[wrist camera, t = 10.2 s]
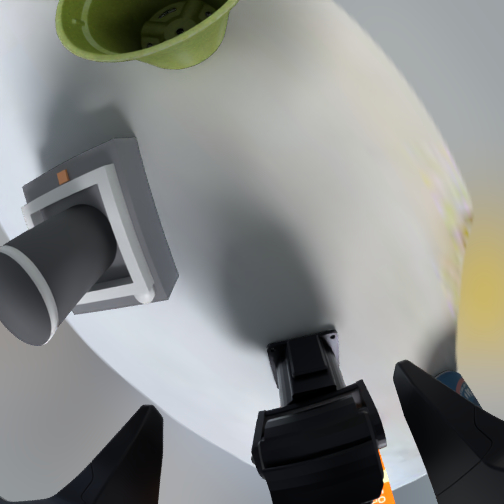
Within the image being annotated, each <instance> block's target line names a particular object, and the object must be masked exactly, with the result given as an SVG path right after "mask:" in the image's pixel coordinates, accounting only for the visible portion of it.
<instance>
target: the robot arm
mask: <svg viewBox="0 0 504 504" xmlns="http://www.w3.org/2000/svg"><path fill="white" fill-rule="evenodd" d="M331 335H333V336H331ZM271 348H274V349H271ZM267 352H268V356H269V360H270V363H271V367H272V371H273V374H274V378H275V381H276V385H277V388H278V389H279V395H280V403H281V407H280V408H276V409H272V410H268V411H266V410H264V411H259V413H258V419H257V422H256V428H255V434H254V439H253V445H252V451H251V452H252V457H251V460H252V463H254V464H255V465H256V468H257V471H258V473H259V474H260V476H261V477H262V478H263V479H265V480H266V482H267V484H268V487H269V490H270V494H271V498H272V502H273V504H372V503H373V501H374V500H376V499H379V498H380V495H381V492H382V490H383V487H384V482H383V479H384V471H383V467H382V463H381V459H380V455H379V451H378V449H381V448H383V447H386V446H387V443H386V437H385V433H384V429H383V426H382V422H381V419H380V417H379V414H378V411H377V409H376V407H375V405H374V403H373V400H372V398H371V396H370V394H369V392H368V390H367V388H366V386H365V384H364V382H363V380H359V381H357V382H356V383H354V384H352V385H349V386H345V383H344V380H343V377H342V374H341V371H340V368H339V345H338V334H337V332H336V331H335V330H330V331H326V332H322V333H318V334H314V335H309V336H305V337H300V338H296V339H291V340H286V341H281V342H276V343H271V344H269V345H268V346H267ZM393 381H394V384H395V387H396V391H397V394H398V397H399V400H400V404H401V407H402V410H403V413H404V416H405V419H406V421H407V424H408V426H409V428H410V431H411V433H412V435H413V438H414V440H415V443H416V445H417V447H418V450H419V452H420V455H421V457H422V460H423V463H424V465H425V468H426V470H427V473H428V476H429V479H430V481H431V484H432V487H433V489H434V493H435V495H436V499H437V502H438V504H504V421H503V420H501V419H499V418H497V417H495V416H493V415H491V414H490V413H488V412H486V411H485V410H483V409H481V408H480V407H478V406H477V405H474V403H472V402H471V401H469V400H467V399H466V398H464V397H463V396H461V395H460V394H458V393H457V392H455V391H454V390H452V389H451V388H449V387H448V386H446V385H445V384H443V383H442V382H440V381H439V380H437V379H436V378H434V377H433V376H431V375H430V374H428V373H426V372H425V371H423V370H422V369H420V368H419V367H417V366H416V365H414V364H413V363H411V362H410V361H408V360H403V361H400V362H398V363H397V364H396V366H395V371H394V376H393ZM162 458H163V417H162V415H161V414H160V413H159V412H158V410H157V409H156V408H155V407H154V406H153V405H142V406H141V407H140V409H138V411H137V412H136V413H135V414H134V415H133V416H132V417H131V418H130V420H129V421H128V422H127V423H126V424H125V425H124V426H123V427H122V429H121V430H120V431H119V432H118V433H117V434H116V435H115V436H114V437H113V438H112V440H111V441H110V442H109V443H108V444H107V445H106V446H105V447H104V448H103V449H102V451H101V452H100V453H99V454H98V455H97V456H96V457H95V458H94V460H92V463H90V464H89V465H88V466H87V467H86V468H85V469H84V470H83V471H82V472H81V473H80V474H79V475H78V476H77V477H76V478H75V479H73V480H72V481H71V482H70V483H69V484H68V485H67V486H65V487H64V488H63V489H62V490H60V491H59V492H58V493H57V494H56V495H54V496H52V497H50V498H47V499H41V500H32V501H19V502H9V501H7V500H5V499H4V498H2V497H1V496H0V504H158V497H159V486H160V476H161V467H162Z"/></svg>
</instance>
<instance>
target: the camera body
mask: <svg viewBox="0 0 504 504" xmlns="http://www.w3.org/2000/svg"><path fill="white" fill-rule="evenodd" d="M22 188H23V191H24V195H25V198H26V202H27V204H26V205H24V206H22V207H21V210H22V213H23V216H24V219H25V222H26V225H27V228H28V230H29V229H31V228H33V227H34V226H36V225H38V224H40V223H42V222H43V221H45V220H47V219H49V218H51V217H53V216H54V215H56V214H58V213H60V212H62V211H64V210H66V209H68V208H70V207H72V206H74V205H78V204H87V205H90V206H93V207H95V208H97V209H98V210H100V211H101V212H102V213H103V214H104V215H105V216H106V217H107V219H108V220H109V222H110V224H111V227H112V230H113V233H114V235H115V238H116V241H117V252H116V257H115V259H114V262H113V263H112V265H111V266H110V267H109V268H108V269H107V270H106V271H105V272H104V274H103V275H102V276H101V277H100V278H99V279H98V280H97V281H96V282H95V284H94V285H93V286H92V287H91V288H90V289H89V290H88V292H87V293H86V294H85V295H84V296H83V297H82V299H81V300H80V301H79V302H78V303H77V304H76V306H75V307H74V308H73V309H72V311H73V313H74V315H76V314H83V313H90V312H97V311H103V310H110V309H116V308H122V307H129V306H135V305H141V304H149V303H153V302H158V301H164V300H168V299H169V297H170V294H171V292H172V290H173V288H174V285H175V283H176V281H177V279H178V277H179V275H178V272H177V269H176V266H175V264H174V261H173V258H172V255H171V252H170V250H169V247H168V244H167V241H166V238H165V235H164V232H163V229H162V226H161V223H160V220H159V217H158V214H157V211H156V207H155V204H154V201H153V198H152V194H151V191H150V188H149V184H148V181H147V177H146V174H145V170H144V167H143V163H142V159H141V155H140V152H139V148H138V144H137V140H136V137H134V138H114V139H111V140H109V141H107V142H105V143H102V144H100V145H98V146H96V147H94V148H92V149H89V150H87V151H85V152H83V153H81V154H79V155H77V156H75V157H73V158H71V159H70V160H68V161H66V162H64V163H62V164H60V165H58V166H57V167H55V168H53V169H51V170H49V171H48V172H46V173H44V174H43V175H41V176H39V177H38V178H36V179H34V180H33V181H31V182H29V183H28V184H26V185H25V186H23V187H22Z"/></svg>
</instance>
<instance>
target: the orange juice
mask: <svg viewBox="0 0 504 504" xmlns="http://www.w3.org/2000/svg"><path fill="white" fill-rule="evenodd" d="M378 451H379V449H378ZM379 455H380V452H379ZM380 459H381V463H382V467H383V471H384V479H383V482H384V487H383V490H382V492H381V495H380V498H379V499H376V500H374V501H373V503H372V504H395V501H394V498H393V494H392V491H391V487H390V484H389V480H388V476H387V473H386V470H385V468H384V464H383V461H382V458H381V455H380Z"/></svg>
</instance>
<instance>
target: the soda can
mask: <svg viewBox="0 0 504 504" xmlns="http://www.w3.org/2000/svg"><path fill="white" fill-rule="evenodd" d="M435 378H436V379H437V380H439V381H440V382H442V383H443V384H445V385H446V386H448V387H449V388H451V389H452V390H454V391H455V392H457V393H458V394H460V395H461V396H463V397H464V398H466V399H467V400H469V401H471V402H472V403H474V405H477V406H478V407H480V408H481V409H482V407H481V406H480V404H479V403H478V401H477V399H476V398H475V396H474V395H473V393H472V391H471V390H470V388H469V387H468V385H467V384H466V382H465V381H464V379H463V378H462V376H461V375H460V374H459V373H457V372H454V371H445V372H443V373H441V374H439V375H438V376H436V377H435Z"/></svg>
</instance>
